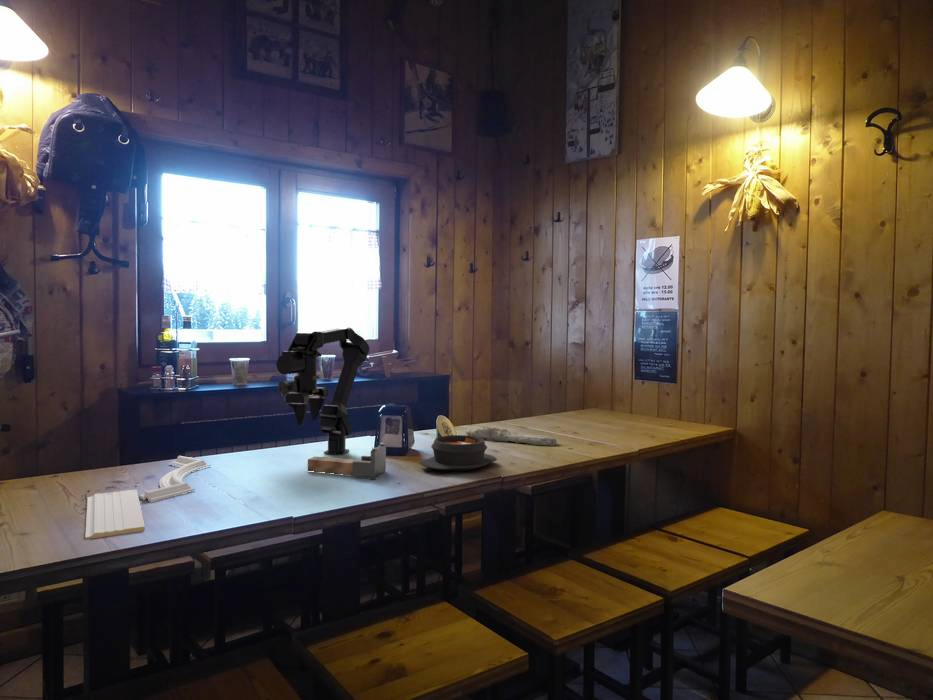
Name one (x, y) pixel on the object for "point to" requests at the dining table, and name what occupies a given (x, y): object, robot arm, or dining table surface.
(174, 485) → the molding
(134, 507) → the baseboard molding
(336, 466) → the brown wooden bar
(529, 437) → the long grey stone
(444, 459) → the casserole
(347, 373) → the robot arm
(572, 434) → the dining table surface
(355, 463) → the bracket
